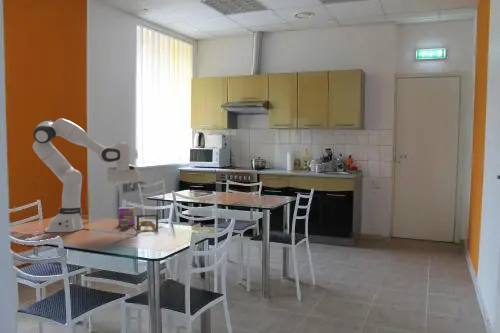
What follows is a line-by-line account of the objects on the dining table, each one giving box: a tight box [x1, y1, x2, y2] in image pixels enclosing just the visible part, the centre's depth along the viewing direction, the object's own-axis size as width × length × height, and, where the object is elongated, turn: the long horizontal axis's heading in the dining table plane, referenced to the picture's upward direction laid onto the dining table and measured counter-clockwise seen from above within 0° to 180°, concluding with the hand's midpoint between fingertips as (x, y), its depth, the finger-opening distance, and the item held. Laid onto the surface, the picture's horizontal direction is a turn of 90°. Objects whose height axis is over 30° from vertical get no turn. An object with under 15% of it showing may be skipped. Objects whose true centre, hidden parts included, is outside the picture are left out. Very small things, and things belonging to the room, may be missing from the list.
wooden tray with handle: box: [133, 213, 159, 233], centre depth 283 cm, size 13×16×11 cm
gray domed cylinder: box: [120, 219, 129, 231], centre depth 283 cm, size 5×5×6 cm
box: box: [117, 206, 136, 226], centre depth 298 cm, size 10×6×12 cm, turn 97°
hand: (123, 188), depth 283 cm, fingers open, 8 cm apart
